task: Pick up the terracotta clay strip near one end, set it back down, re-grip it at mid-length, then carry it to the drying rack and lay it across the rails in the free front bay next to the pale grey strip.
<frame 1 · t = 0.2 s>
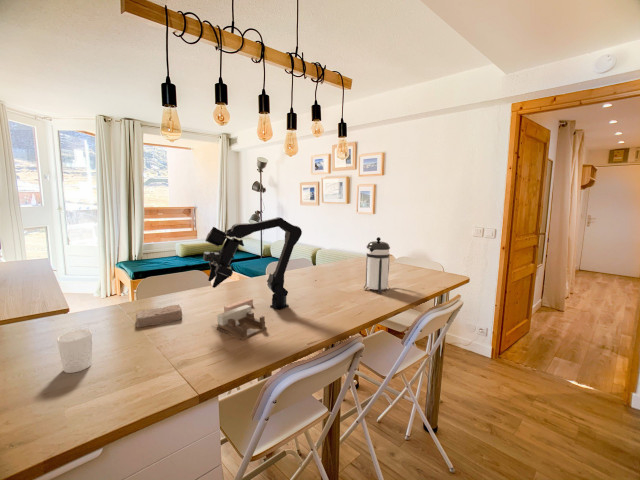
hand: (211, 284, 129), 14 cm above the table, tool tilted 30°, fingers open, 9 cm apart
brick: (159, 321, 126), on the table
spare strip: (235, 318, 120), point 3 cm above the table, touching rack
white cup: (78, 367, 91), on the table
coffee press: (377, 289, 173), on the table
clay strip: (239, 310, 139), on the table
rack: (241, 329, 118), on the table
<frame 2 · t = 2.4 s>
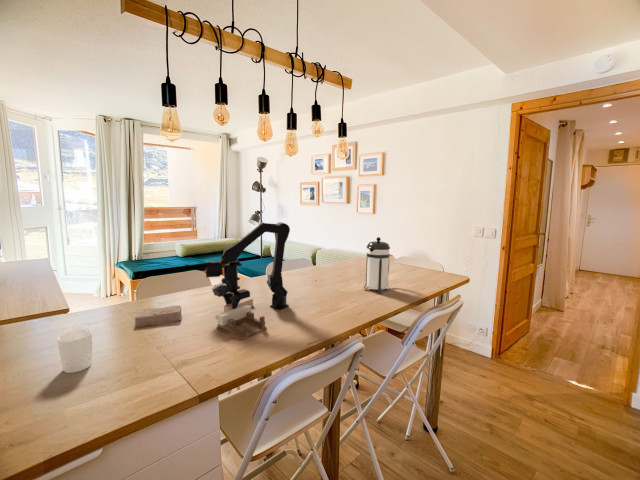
hand: (231, 309, 135), 1 cm above the table, tool pointing down, fingers closed on clay strip, 3 cm apart
clay strip: (239, 309, 139), on the table, touching gripper
when the fingers open (1 cm above the table, at t = 4.1 s): clay strip stays where it is, on the table.
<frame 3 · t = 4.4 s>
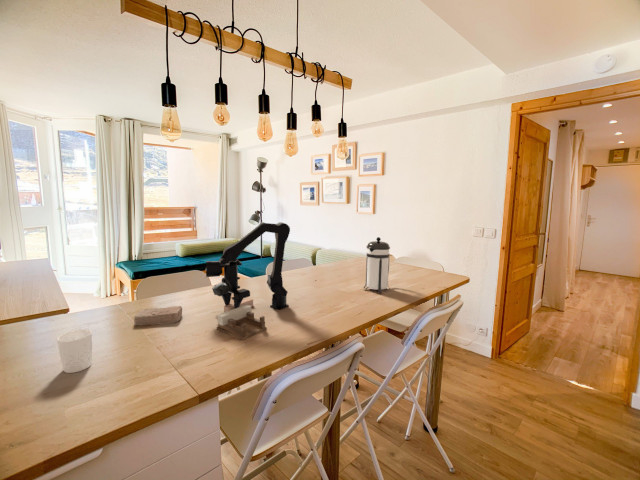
hand: (231, 309, 135), 1 cm above the table, tool pointing down, fingers open, 6 cm apart
clay strip: (239, 310, 139), on the table
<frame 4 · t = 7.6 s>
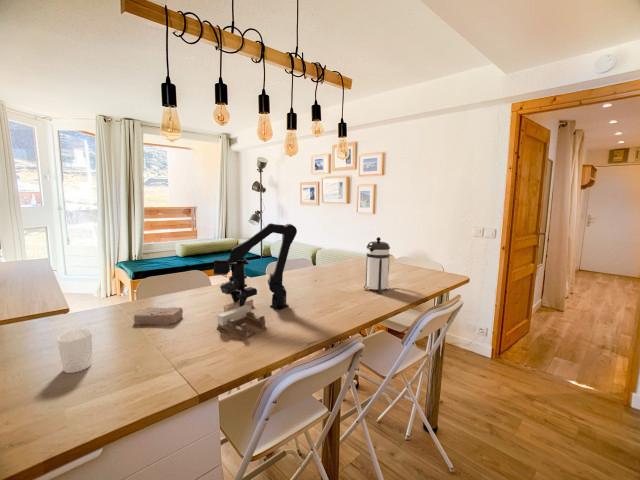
hand: (238, 307, 139), 1 cm above the table, tool pointing down, fingers closed on clay strip, 3 cm apart
clay strip: (239, 309, 139), on the table, touching gripper
when the fingers open (6 cm above the table, at t = 11.9 s): clay strip drops 2 cm, resting on rack.
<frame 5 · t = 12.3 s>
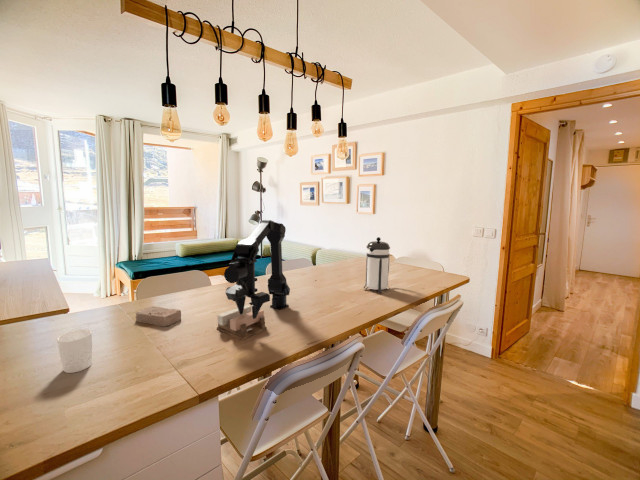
hand: (247, 316, 115), 6 cm above the table, tool pointing down, fingers open, 7 cm apart
clay strip: (247, 323, 115), point 3 cm above the table, touching rack
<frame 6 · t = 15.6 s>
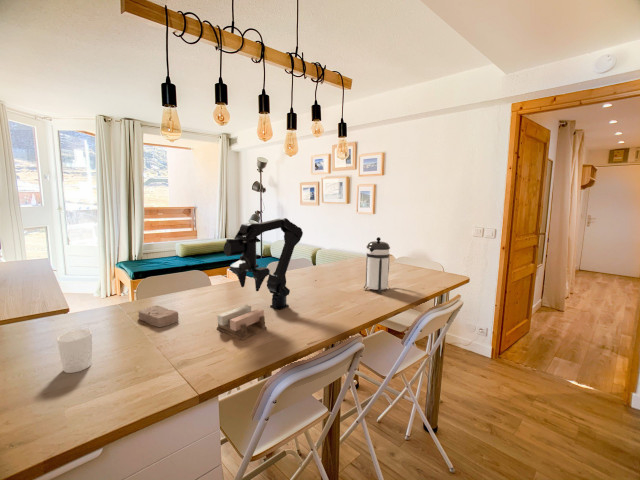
hand: (249, 289, 130), 12 cm above the table, tool pointing down, fingers open, 9 cm apart
at the end: clay strip 0.0 cm from the target spot on the rack, point 3.2 cm above the rack's base; clay strip tilted 0°; the gripper is holding nothing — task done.
